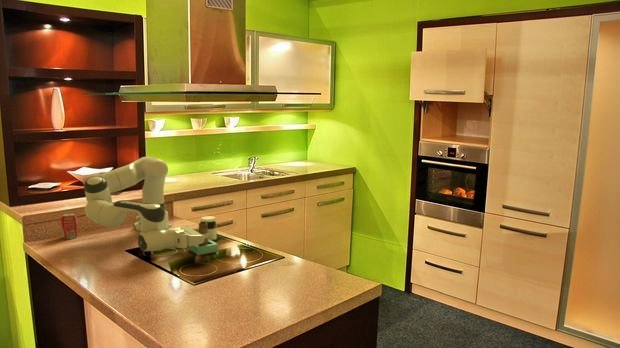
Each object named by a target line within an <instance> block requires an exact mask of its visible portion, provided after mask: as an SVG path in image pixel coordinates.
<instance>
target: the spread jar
mask: <svg viewBox="0 0 620 348" xmlns="http://www.w3.org/2000/svg"><path fill="white" fill-rule="evenodd" d="M200 221H206V223H207V226H208V233H209V234H210V237H208V239H210V240H212V241H214V242H216V241H217V238H218V237H217V236H218V227H217V226H218V225H217V224H218V223H217V222H216V216H211V215H210V216H209V215H208V216H202V217H201V220H200ZM196 229H199V226H198V227H197V228H196Z"/></svg>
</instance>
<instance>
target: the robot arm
mask: <svg viewBox="0 0 620 348" xmlns="http://www.w3.org/2000/svg"><path fill="white" fill-rule="evenodd" d="M168 173H169V167H168V165H167V163H166V161H164V160H163V159H161V158H156V157H154V156H153V157H152V156H149V155H148V156H142V157H140V158H139V159H137V160H135V161H133V162H131V163H129V164H126V165H124V166H121V167H117V168H115V169H112V170H110V171H107V172H105V173H102V174H100V175H92V176H89V177H88V178H87V179H85V181H84V182H83V189H84V194H85V199H86V203H87V204H86V205H85V206H84V215H85V216H86V217H87V218H88V219H90V220H91V221H92V222H94V223H97V224H98V225H101V226H104V227H106V228H116V227H119V226H120V225H121V224H123V222H125V220H126V219H127V216H128V213H135V214H138V216H135V220H136V222H134V227H135V229H136V231H138V232H140V234H138V236H137V244H138V246H139V248H140V250H141V251H142V252H154V251H162V250H164V249H172V248H173V249H174V248H175V249H176V248H179V249H187V248H188V247H189V246H194V245H199V244H202V243H203V242H204V239H205V238H208V237H210V234H209V233H205V234H200V233H199V229H197V228H191V227H189V226H187V225H186V226H175V227H172V223H170V222H169V220H170V219H169V212H168V211H167V210H166V202H165V198H164V197H165V195H164V193H165V191H164V189H165V183H166V182H165V181H166V176H167V175H168ZM143 180H144V183H143V186H142V189H141V192H142V193H141V195H142V198H141V199H142V202H141V201H135V200H134V201H133V200H125V199H120V200H118V201H115V202H114V203H113V199H112V194H113V193H117V192H120V191H122V190H125V189H127V188H130V187H134V186H135V185H137V184H138V183H139V182H141V181H143Z"/></svg>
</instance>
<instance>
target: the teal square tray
mask: <svg viewBox="0 0 620 348" xmlns="http://www.w3.org/2000/svg"><path fill="white" fill-rule="evenodd" d="M188 247H189V249H188V250H189V251H191V252H192V251H193V252H192V253H194V254H196V255H197V256H200V255H206V254H211V253H217V252H219V243H217V242H216V241H212V240H210V239H208V245H203V246H199V245H194V246H188Z"/></svg>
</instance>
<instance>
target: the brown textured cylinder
mask: <svg viewBox="0 0 620 348" xmlns="http://www.w3.org/2000/svg"><path fill="white" fill-rule="evenodd" d="M198 227H199V233H200V234H205V233H208V226H207V223H206V221H201V220H200V221H199V222H198ZM203 245H208V238H205V239H204V242H203V243H202V244H199V246H203Z"/></svg>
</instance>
